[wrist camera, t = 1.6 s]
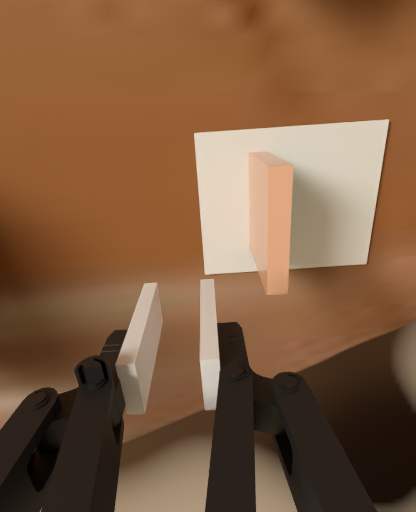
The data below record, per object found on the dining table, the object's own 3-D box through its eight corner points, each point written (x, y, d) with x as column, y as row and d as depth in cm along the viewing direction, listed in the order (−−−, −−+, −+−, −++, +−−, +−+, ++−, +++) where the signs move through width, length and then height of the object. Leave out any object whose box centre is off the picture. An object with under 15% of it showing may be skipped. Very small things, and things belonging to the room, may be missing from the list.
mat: (205, 272, 43) (205, 274, 42) (194, 133, 35) (194, 133, 35) (364, 262, 42) (366, 264, 42) (386, 119, 35) (389, 119, 35)
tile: (249, 247, 41) (266, 294, 30) (248, 152, 36) (268, 166, 25) (265, 246, 41) (288, 293, 30) (266, 151, 36) (294, 164, 25)
